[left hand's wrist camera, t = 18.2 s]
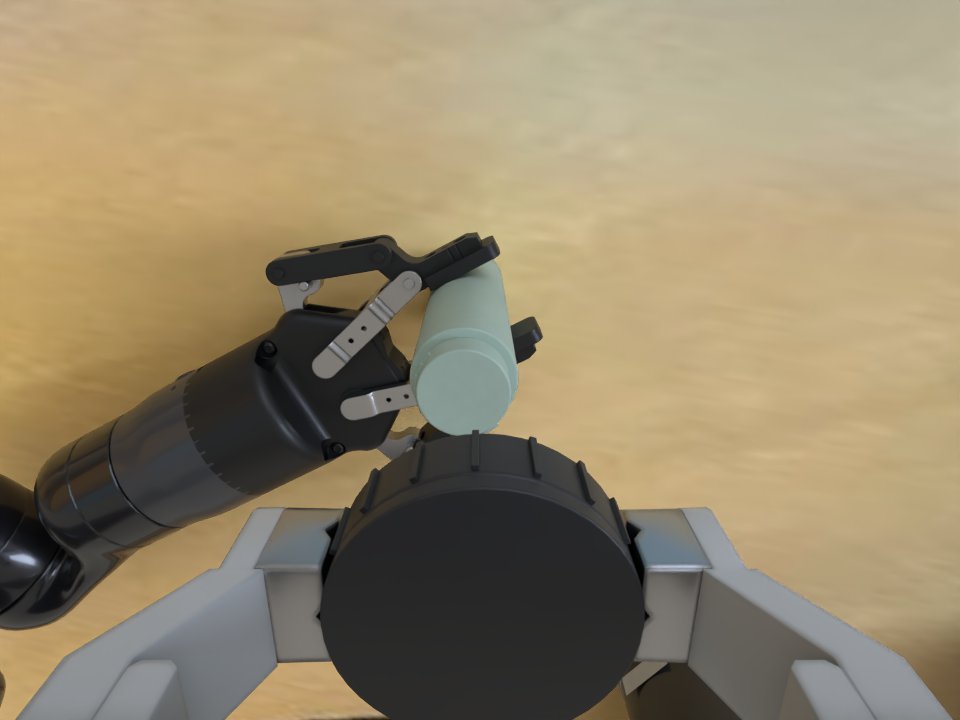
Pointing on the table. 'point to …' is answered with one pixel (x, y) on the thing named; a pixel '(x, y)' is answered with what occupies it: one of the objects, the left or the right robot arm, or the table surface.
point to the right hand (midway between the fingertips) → (516, 286)
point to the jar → (465, 354)
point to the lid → (482, 585)
